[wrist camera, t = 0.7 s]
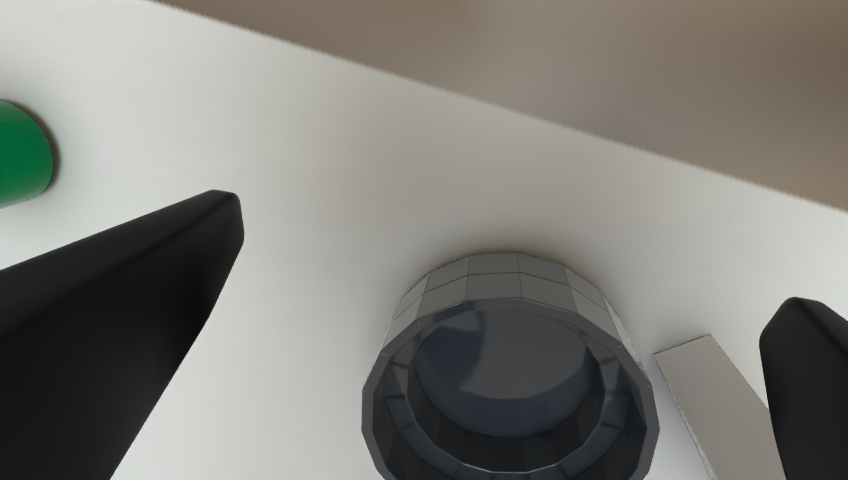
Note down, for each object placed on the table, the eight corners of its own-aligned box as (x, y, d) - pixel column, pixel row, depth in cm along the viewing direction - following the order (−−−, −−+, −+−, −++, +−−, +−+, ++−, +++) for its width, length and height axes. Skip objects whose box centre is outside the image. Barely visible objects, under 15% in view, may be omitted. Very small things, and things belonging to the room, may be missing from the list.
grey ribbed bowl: (474, 486, 29) (468, 576, 24) (340, 325, 27) (304, 387, 22) (672, 393, 26) (715, 476, 21) (538, 198, 24) (549, 238, 18)
